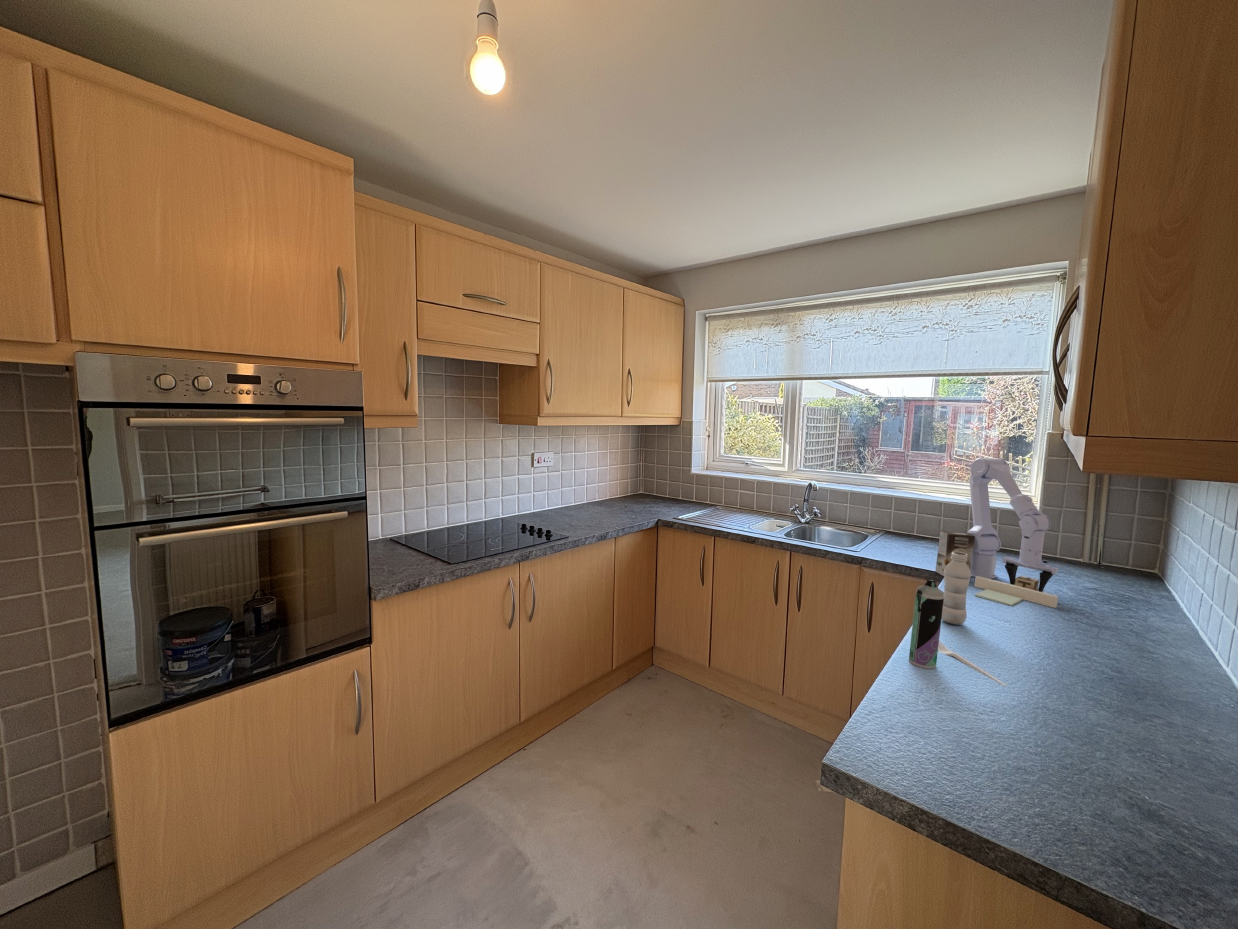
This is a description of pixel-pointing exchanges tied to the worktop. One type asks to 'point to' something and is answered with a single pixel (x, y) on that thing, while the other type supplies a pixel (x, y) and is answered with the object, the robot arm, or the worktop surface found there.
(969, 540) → the coffee box
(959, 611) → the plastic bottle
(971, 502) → the robot arm
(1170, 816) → the worktop surface
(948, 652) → the fork
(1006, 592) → the cream board
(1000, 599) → the pad
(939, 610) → the spray can
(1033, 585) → the lettered cube
